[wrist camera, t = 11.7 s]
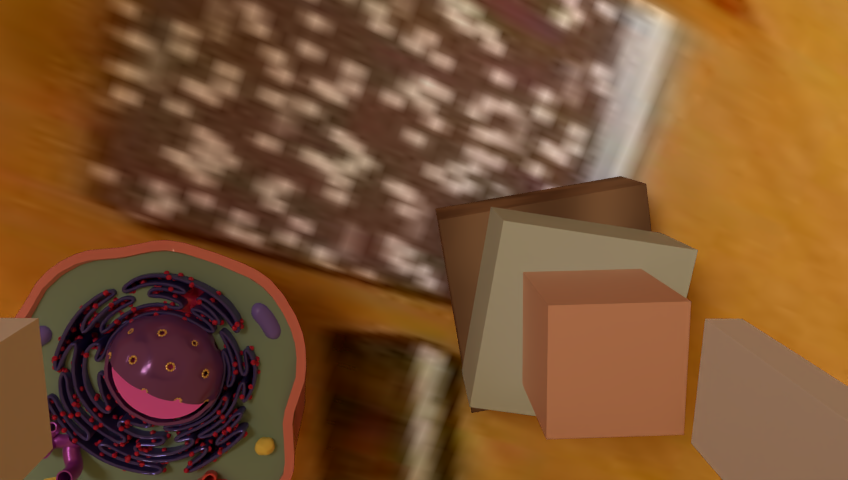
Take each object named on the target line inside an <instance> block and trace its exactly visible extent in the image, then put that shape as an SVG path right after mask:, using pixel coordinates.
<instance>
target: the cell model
mask: <svg viewBox="0 0 848 480" xmlns="http://www.w3.org/2000/svg"><path fill="white" fill-rule="evenodd" d="M15 318H38V319H39V328H40V337H41V346H42V355H43V364H44V373H45V382H46V391H47V400H48V409H49V418H50V427H51V436H52V444H53V449H52V450H51V451H50V452H49V453H48V454H47V455H46V456H45V457H44V458H43V459H42V460H41V461H40V462H39V463H38V464H37V465H36V467H35V468H34V469H33V470H32V471H31V472H30V473H29V474H28V475H27V476H26V477H25V478H24V479H23V480H291V477H292V474H293V471H294V461H295V449H296V445H297V440H298V436H299V431H300V426H301V421H302V416H303V411H304V406H305V393H306V367H307V366H306V349H305V343H304V337H303V333H302V330H301V328H300V325H299V322H298V320H297V317H296V315H295V313H294V312H293V310H292V308H291V307H290V305H289V303H288V302H287V300H286V298H285V297H284V295H283V294H282V292H281V291H280V290H279V289H278V288H277V287H276V286H275V285H274V283H273V282H272V281H271V280H270V279H269V278H267V277H266V276H264V275H263V274H262V273H260V272H259V271H257V270H255V269H253V268H251V267H249V266H247V265H245V264H243V263H241V262H238V261H235V260H233V259H230V258H228V257H225V256H223V255H220V254H217V253H214V252H211V251H208V250H205V249H202V248H199V247H196V246H193V245H190V244H187V243H182V242H176V241H169V240H160V241H150V242H146V243H141V244H136V245H131V246H127V247H121V248H109V249H98V250H88V251H85V252H81V253H78V254H75V255H73V256H71V257H69V258H67V259H65V260H63V261H61V262H59V263H58V264H56V265H55V266H54V267H52V268H51V269H49V270H48V271H47V272H46V273H45V274H44V275H43V276H42V277H41V278H40V279H39V280H38V282H37V283H36V284H35V286H34V288H33V289H32V291H31V293H30V294H29V296H28V298H27V299H26V301H25V303H24V304H23V306H22V308H21V309H20V311H19V312H18V314H17V315H16V317H15Z"/></svg>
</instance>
